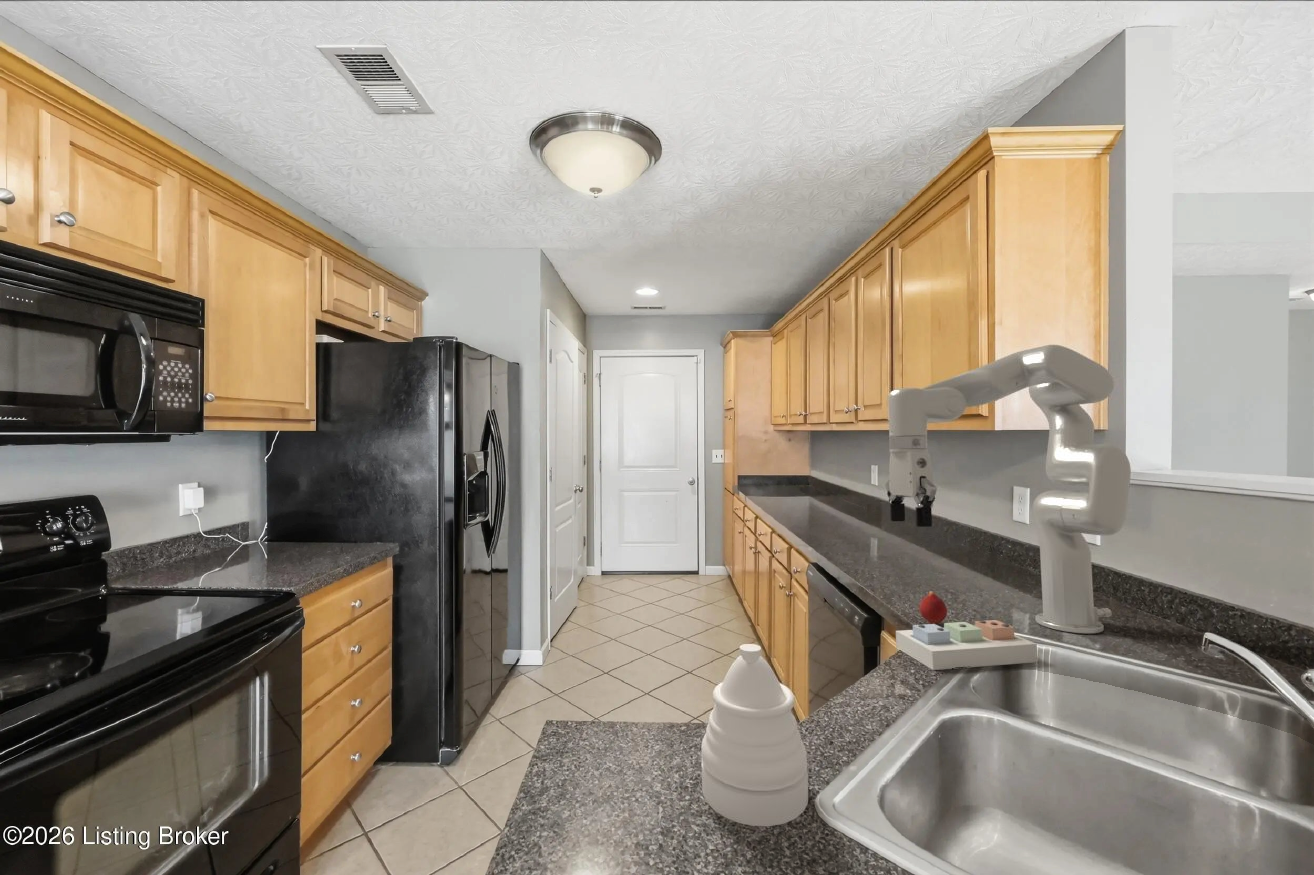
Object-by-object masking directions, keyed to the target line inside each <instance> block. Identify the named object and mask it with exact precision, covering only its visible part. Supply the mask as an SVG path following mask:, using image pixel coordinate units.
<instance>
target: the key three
mask: <svg viewBox="0 0 1314 875" xmlns="http://www.w3.org/2000/svg"><path fill="white" fill-rule="evenodd" d="M974 626H976V627H978V628H980V629H982V636H983V637H985V638H987V639H990V640H992V641H995V640H1010V639H1014V635H1015V627H1014V626H1012V625H1009V624H1007V623H1004V622H1003V621H999V620H997V619H992V620H988V619H987V620H976V621H974Z"/></svg>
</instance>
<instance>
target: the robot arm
mask: <svg viewBox="0 0 1314 875" xmlns="http://www.w3.org/2000/svg"><path fill="white" fill-rule="evenodd" d="M1114 382H1115V381H1114V377H1113V375H1112V373H1110V371H1109V370H1108V369H1107V368H1106V367H1105V366H1103V365H1101V364H1100V363H1098V362H1096V361H1094V360H1092V359H1090V358H1088V357H1087V356H1085V355H1083V354H1081V353H1080V352H1078V351H1075V350H1073V349H1071V348H1068V347H1066V346H1063V345H1059V344H1048V345H1043V346H1038V347H1032V348H1029V349H1025V350H1021V351H1017V352H1014V353H1011V354H1009V355H1006V356H1004V357H1001V358H999V359H997V360H994V361H992V362H989V363H987V364H985V365H982V366H979V367H977V368H974V369H971V370H968V371H965V372H962V373H960V374H958V375H956V376H955V375H954V376H953V377H950V378H947V379H944V380H940V381H938V382H935V383H933V384H931V385H928V386H926V387H925V386H924V387H923V388H917V387H908V388H907V387H905V388H897V389H894V390H891V391H890V392H889V393H888V399H887V401H888V402H887V404H888V432H889V435H888V437H889V438H888V440H889V442H888V443H889V453H890V455H889V462H888V463H889V465H888V481H887V482H885V488H886V491H887V493H886V494H887V497H888V503H889V506H890V507H889V515H890V521H891V522H905V520H906V509H905V503H903V502H904V500H905V498H912V499H914V501H915V503H916V506H915V525H916V527H918V528H924V527H925V528H927V527H928V528H929V527H932V526H933V520H932V518H933V516H932V508H933V507H934V502H935V499H936V497H935V496H936V493H937V490H938V489H937V486H936V485H935V484H934V474H933V466H932V460H931V455H930V452H929V450H928V424H933V423H934V424H937V423H946V422H951V421H954V420H957V419H959V418H960V417H961V416H962V415H963V414H964V412H965V411H966V410H967V408H973V407H978V406H983V405H987V404H990V403H993V402H994V403H995V402H996V401H999V400H1001V399H1004V398H1005V397H1008V396H1010V395H1012V394H1015V393H1016V392H1020V391H1021V390H1024V389H1027V388H1028V393H1029V396H1030V398H1031V400H1032V401H1033V403H1034V404H1035V405H1036V406H1037V407H1038V408H1039V409H1040V410H1041V412H1042V413H1043V414H1044V416H1045V418H1046V420H1047V422H1048V427H1049V430H1048V432H1049V433H1048V442H1047V448H1046V449H1047V450H1046V451H1047V452H1046V459H1045V473H1046V477H1047V478H1048V479H1049V480H1050V481H1051V482H1052V483H1054V484H1059V485H1064V486H1065V485H1066V486H1067V485H1068V486H1084V487H1088V491H1080V490H1063V489H1052V490H1047V491H1044V492H1043V491H1042V493H1040V494H1038V495H1037V496H1036V498H1035V499H1034V501H1033V503H1032V514H1033V519H1034V521H1035V525H1036V529H1037V534H1038V541H1039V556H1040V557H1039V558H1040V559H1039V560H1040V576H1041V580H1040V581H1041V595H1042V596H1041V597H1042V598H1041V599H1042V612H1041V613H1038V614H1036V615H1035V621H1036V623H1037V624H1039V625H1041V626H1044V627H1046V628H1049V629H1052V630H1056V631H1061V632H1068V633H1075V634H1099V633H1101V632H1103V631H1104V629H1105V627H1104V624H1103V623H1101V621H1099V619H1100V618H1108V617H1110V618H1111V617H1112V615H1113V613H1112V610H1111V609H1110V608H1108V607H1102V608H1098V607H1096V606H1094V591H1093V590H1094V588H1093V572H1092V571H1093V570H1092V552H1091V548H1090V545H1089V544H1088V542H1087V540H1086V538H1085V537H1084V535H1094V536H1101V537H1102V536H1103V537H1107V536H1113V535H1116V534H1117V533H1119V532H1120V531H1121V530H1122V529H1123V527H1124V525H1125V522H1126V519H1127V512H1128V506H1129V504H1128V503H1129V495H1130V484H1131V472H1132V471H1131V470H1132V469H1131V468H1132V467H1131V463H1130V460H1129V458H1128V456H1127V454H1126V452H1124V450H1122V449H1121V448H1120V447H1118V446H1115V445H1112V444H1101V443H1100V444H1099V443H1098V444H1096V443H1095V441H1094V439H1095V425H1094V421H1093V420H1092V418H1091V416H1090V414H1089V413H1088V412H1087V411H1086V410H1085V409H1084V408H1083V407H1082V406H1081V405H1086V404H1095V403H1099V402H1102V401H1104V400H1106V399H1107V398H1108V397H1109V396H1111V394H1112V393H1113V391H1114V387H1115V383H1114ZM1094 443H1095V444H1094Z"/></svg>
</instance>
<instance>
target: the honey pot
mask: <svg viewBox="0 0 1314 875" xmlns="http://www.w3.org/2000/svg"><path fill="white" fill-rule="evenodd" d="M739 653H740V655H739V656H738V657H737V658H736V659H735V660H734V661H733V663H732V664H731V666H730V668H729V669H728V670H727V672H726V675H725V677H724V679H723V681H722V682H720V683H719V684H717V685H716V686H715V687H714V689H713V692H712V698H713V699H712V700H713V702H714V705H713V708H712V710H711V711H710V714H709V716H708V723H707V725H706V729H705V734H704V736H703V738H702V740H701V754H700V756H701V787H702V788H701V789H702V796H703V797H704V799H705V800H704V801H705V802H706V803H707V804H708V805H709V806H710V807H711V808H712V810H713V811H714V812H716V813H718V814H720V815H721V816H722V817H723V818H726V819H728V820H731V821H733V822H736V823H738V824H742V825H748V826H753V827H772V826H779V825H784V824H786V823H788V822H791V821H793V820H795V819H797V818H798V817H799V816H801V815H802V813H804V812H805V809H806V808H807V806H808V803H809V782H808V781H809V780H808V777H809V776H808V761H807V760H808V759H807V757H808V752H807V749H806V746H805V744H804V742H803V740H802V736H801V733H800V730H799V728H798V722H797V720H796V717H795V716H794V715H793V713H792V709H793V707H794V706H795V703H796V698H795V695H794V693H793V691H792V690H791V689H790V688H789V687H788V686H786V685H784V684H783V683H781V682H780V681H779V680H778V677H777V676H776V674H775V672H774V670H773V668H771V665H770V664H769V663H768V662H767V660H766V659H765V658H763V656H762V655H761V653H762V646H760V645H759V644H755V643H746V644H745V643H744V644H741V645H740V646H739Z"/></svg>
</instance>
